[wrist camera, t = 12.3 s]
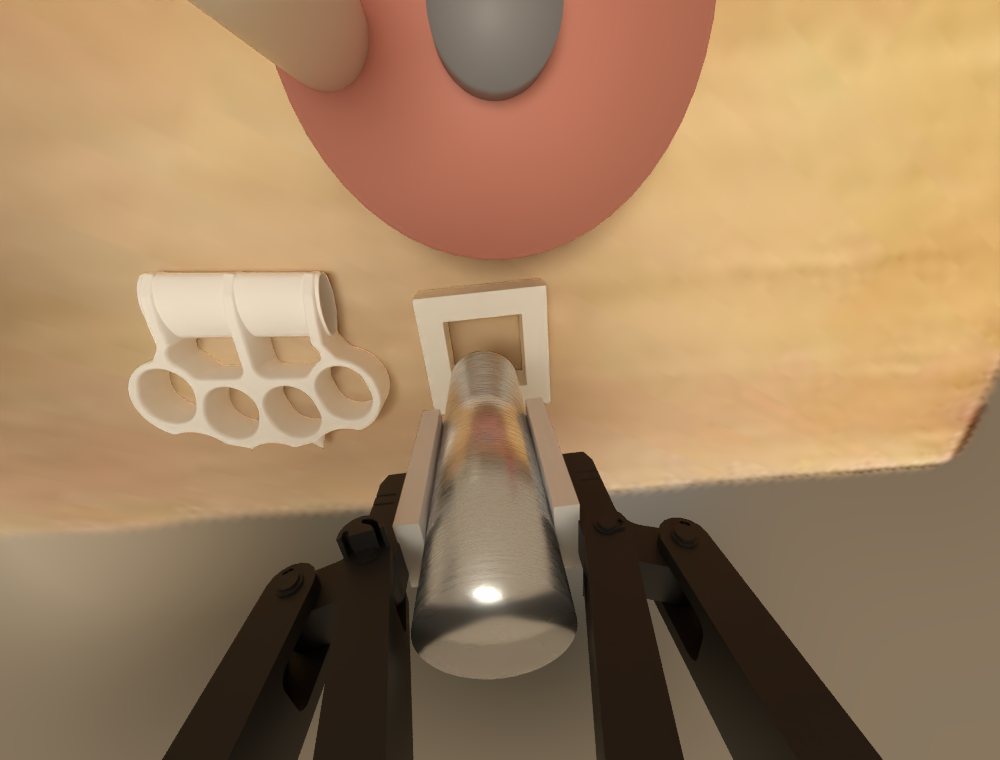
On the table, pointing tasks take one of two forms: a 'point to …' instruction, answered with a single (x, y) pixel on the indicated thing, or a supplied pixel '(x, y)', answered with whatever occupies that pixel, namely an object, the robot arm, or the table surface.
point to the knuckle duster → (248, 357)
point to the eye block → (484, 303)
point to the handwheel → (484, 106)
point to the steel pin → (490, 538)
